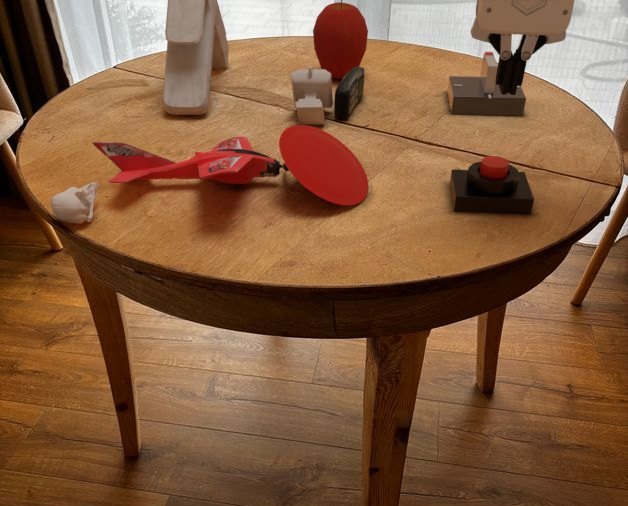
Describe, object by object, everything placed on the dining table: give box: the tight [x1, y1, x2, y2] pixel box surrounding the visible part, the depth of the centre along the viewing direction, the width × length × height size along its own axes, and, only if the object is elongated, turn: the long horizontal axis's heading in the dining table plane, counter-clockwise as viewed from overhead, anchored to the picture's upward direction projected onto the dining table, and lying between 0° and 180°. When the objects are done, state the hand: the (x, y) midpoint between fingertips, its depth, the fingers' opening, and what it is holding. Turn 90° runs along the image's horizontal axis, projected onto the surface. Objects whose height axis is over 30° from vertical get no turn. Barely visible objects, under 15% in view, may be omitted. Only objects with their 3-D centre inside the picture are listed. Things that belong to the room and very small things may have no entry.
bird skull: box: [50, 181, 101, 224], centre depth 87 cm, size 6×8×4 cm
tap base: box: [447, 75, 527, 117], centre depth 117 cm, size 12×11×3 cm
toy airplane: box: [91, 136, 290, 187], centre depth 92 cm, size 27×27×5 cm
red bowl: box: [278, 124, 369, 206], centre depth 92 cm, size 14×14×6 cm
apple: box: [312, 0, 369, 80], centre depth 124 cm, size 10×10×14 cm
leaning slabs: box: [161, 0, 230, 116], centre depth 120 cm, size 8×25×23 cm
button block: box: [449, 160, 535, 215], centre depth 90 cm, size 10×8×4 cm
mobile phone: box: [333, 66, 365, 119], centre depth 116 cm, size 5×3×15 cm
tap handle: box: [479, 51, 498, 94], centre depth 114 cm, size 7×2×5 cm, turn 175°
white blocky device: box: [290, 65, 334, 126], centre depth 110 cm, size 9×7×8 cm
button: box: [480, 155, 510, 179], centre depth 88 cm, size 4×4×2 cm
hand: (506, 90), depth 82 cm, fingers closed
